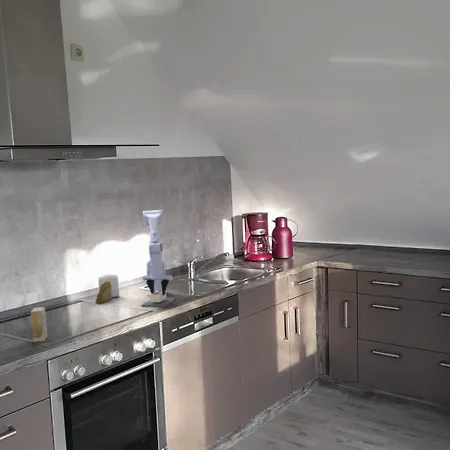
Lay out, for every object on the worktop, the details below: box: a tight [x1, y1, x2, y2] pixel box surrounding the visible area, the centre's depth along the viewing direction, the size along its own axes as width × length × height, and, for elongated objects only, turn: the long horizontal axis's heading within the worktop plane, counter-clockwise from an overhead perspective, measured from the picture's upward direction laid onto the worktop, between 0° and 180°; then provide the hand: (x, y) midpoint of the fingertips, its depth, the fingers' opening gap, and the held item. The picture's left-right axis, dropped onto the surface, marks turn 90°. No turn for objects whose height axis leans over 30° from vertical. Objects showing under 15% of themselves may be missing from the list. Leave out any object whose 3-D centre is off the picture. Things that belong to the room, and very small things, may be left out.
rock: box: [95, 281, 112, 304], centre depth 287 cm, size 11×9×10 cm
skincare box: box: [30, 306, 48, 343], centre depth 223 cm, size 6×4×12 cm
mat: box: [141, 297, 176, 308], centre depth 276 cm, size 14×12×1 cm
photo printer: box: [97, 273, 120, 298], centre depth 294 cm, size 10×4×12 cm, turn 116°
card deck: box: [149, 291, 167, 302], centre depth 276 cm, size 5×9×4 cm, turn 166°
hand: (158, 294), depth 276 cm, fingers closed on card deck, 5 cm apart
